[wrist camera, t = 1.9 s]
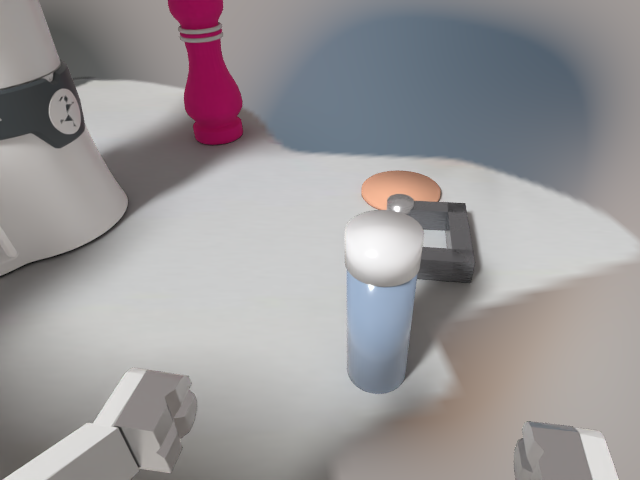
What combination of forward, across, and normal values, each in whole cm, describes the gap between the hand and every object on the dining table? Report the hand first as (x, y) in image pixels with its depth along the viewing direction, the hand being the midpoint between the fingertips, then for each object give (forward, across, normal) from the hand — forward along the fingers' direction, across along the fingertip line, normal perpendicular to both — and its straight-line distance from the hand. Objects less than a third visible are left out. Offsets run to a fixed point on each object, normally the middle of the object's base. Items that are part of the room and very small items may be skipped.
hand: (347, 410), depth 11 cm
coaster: (+36, +1, -14) cm, 38 cm away
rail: (+24, +3, -14) cm, 28 cm away
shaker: (+13, 0, -14) cm, 20 cm away
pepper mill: (+48, -24, -14) cm, 55 cm away
